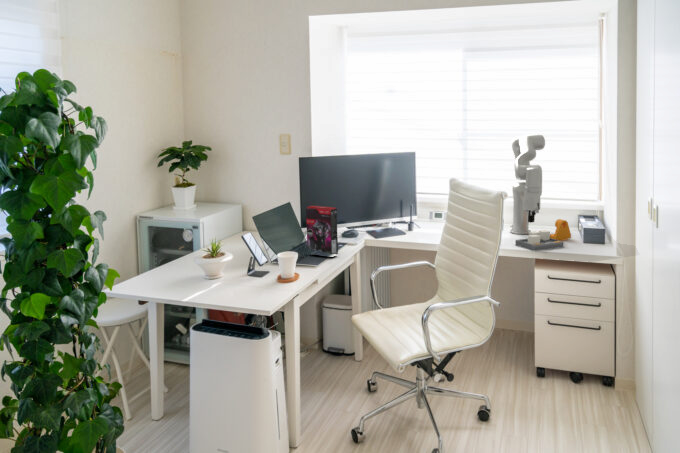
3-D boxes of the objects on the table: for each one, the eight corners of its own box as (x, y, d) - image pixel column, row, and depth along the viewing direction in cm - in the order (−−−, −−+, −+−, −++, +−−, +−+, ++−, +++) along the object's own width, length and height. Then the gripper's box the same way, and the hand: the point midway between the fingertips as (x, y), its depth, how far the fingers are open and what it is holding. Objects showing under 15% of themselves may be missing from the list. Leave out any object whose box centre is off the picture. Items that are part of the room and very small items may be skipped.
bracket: (562, 237, 375) (563, 217, 373) (570, 239, 368) (571, 219, 366) (547, 238, 372) (548, 219, 369) (556, 241, 365) (556, 221, 363)
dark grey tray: (515, 245, 357) (515, 239, 357) (544, 241, 365) (544, 236, 364) (533, 250, 343) (533, 245, 342) (563, 246, 350) (563, 241, 350)
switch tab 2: (527, 244, 349) (528, 235, 348) (535, 243, 351) (535, 234, 350) (532, 245, 345) (532, 236, 344) (539, 244, 347) (540, 236, 346)
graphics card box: (306, 255, 344) (304, 206, 339) (313, 252, 350) (312, 205, 345) (331, 259, 335) (330, 209, 330) (339, 256, 340) (337, 207, 335)
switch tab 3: (537, 239, 361) (538, 230, 360) (544, 238, 362) (545, 230, 361) (542, 240, 357) (542, 232, 356) (549, 239, 359) (549, 231, 358)
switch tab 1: (528, 240, 358) (528, 232, 357) (535, 239, 360) (536, 231, 359) (533, 241, 355) (533, 233, 354) (540, 240, 356) (540, 232, 355)
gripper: (518, 188, 350) (517, 220, 354) (535, 192, 337) (534, 225, 341) (529, 187, 353) (528, 218, 357) (547, 191, 339) (545, 223, 343)
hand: (531, 222), depth 349 cm, fingers closed
